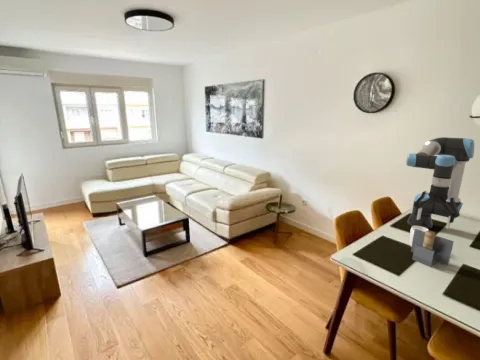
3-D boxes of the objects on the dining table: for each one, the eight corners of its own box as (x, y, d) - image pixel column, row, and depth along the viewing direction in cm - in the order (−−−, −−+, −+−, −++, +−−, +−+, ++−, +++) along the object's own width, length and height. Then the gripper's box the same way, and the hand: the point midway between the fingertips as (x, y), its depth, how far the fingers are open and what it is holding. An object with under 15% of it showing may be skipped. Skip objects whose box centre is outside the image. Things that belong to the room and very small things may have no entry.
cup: (428, 251, 155) (432, 232, 152) (411, 249, 156) (414, 231, 153) (421, 243, 163) (424, 226, 160) (405, 242, 165) (408, 224, 162)
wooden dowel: (423, 252, 147) (427, 230, 143) (432, 256, 143) (436, 232, 140) (419, 255, 144) (424, 232, 141) (428, 258, 141) (433, 235, 137)
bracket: (411, 250, 155) (416, 229, 152) (448, 264, 141) (453, 241, 137) (403, 255, 149) (407, 233, 146) (440, 271, 135) (446, 246, 131)
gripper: (410, 181, 142) (404, 217, 147) (468, 192, 122) (458, 233, 127) (416, 179, 146) (410, 214, 151) (473, 189, 126) (464, 230, 131)
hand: (432, 223), depth 139 cm, fingers open, 13 cm apart
